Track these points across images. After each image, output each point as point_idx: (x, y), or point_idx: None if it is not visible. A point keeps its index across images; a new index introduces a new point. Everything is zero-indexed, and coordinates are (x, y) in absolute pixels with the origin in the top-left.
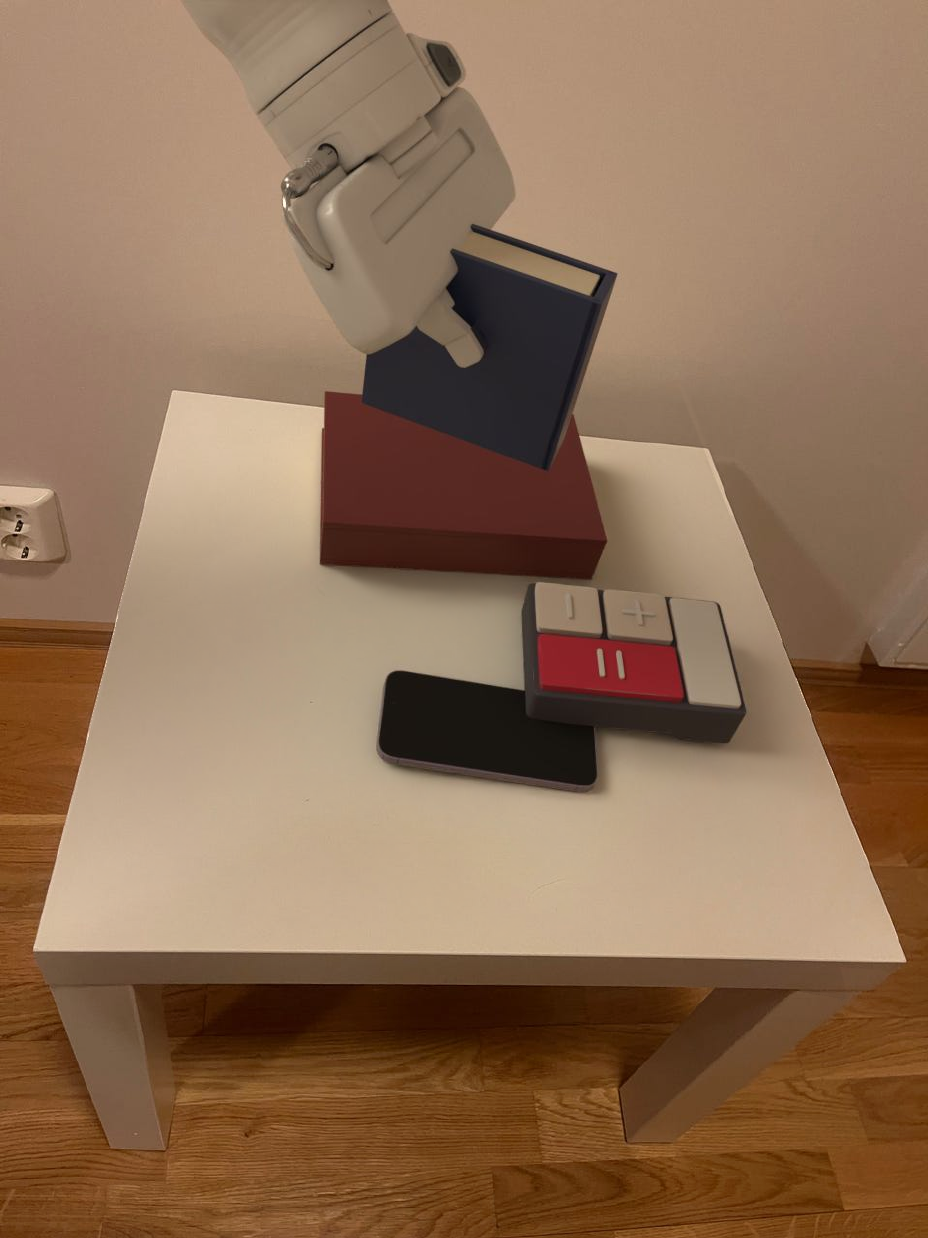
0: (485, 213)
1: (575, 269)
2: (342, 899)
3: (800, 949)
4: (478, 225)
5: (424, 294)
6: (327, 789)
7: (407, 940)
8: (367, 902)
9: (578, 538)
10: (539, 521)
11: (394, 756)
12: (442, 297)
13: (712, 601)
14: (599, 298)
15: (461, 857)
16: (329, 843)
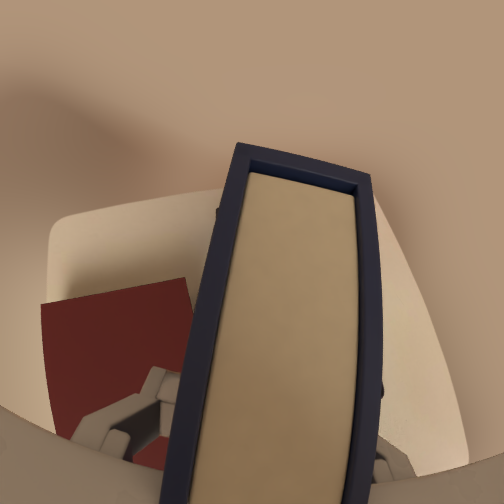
0: (62, 468)
1: (254, 216)
2: (437, 384)
3: (377, 203)
4: (135, 490)
5: (493, 472)
6: (399, 414)
7: (440, 352)
8: (435, 373)
9: (189, 299)
10: (179, 331)
11: (383, 388)
12: (401, 477)
13: (216, 211)
14: (356, 175)
15: (406, 341)
16: (420, 400)
